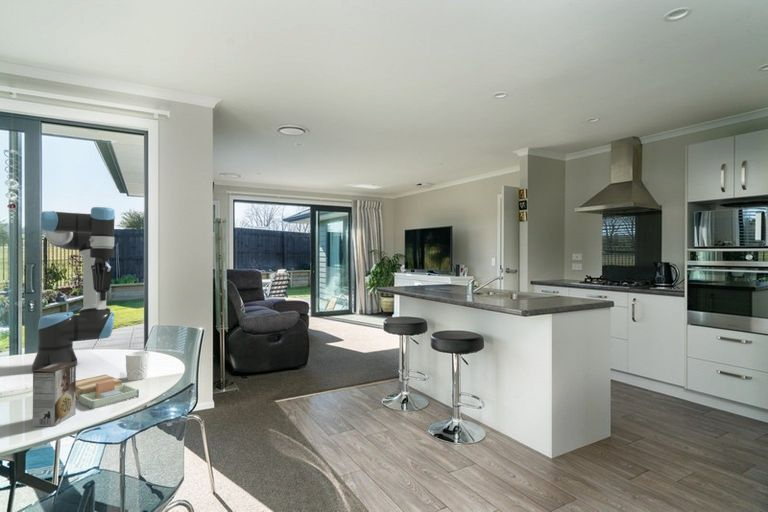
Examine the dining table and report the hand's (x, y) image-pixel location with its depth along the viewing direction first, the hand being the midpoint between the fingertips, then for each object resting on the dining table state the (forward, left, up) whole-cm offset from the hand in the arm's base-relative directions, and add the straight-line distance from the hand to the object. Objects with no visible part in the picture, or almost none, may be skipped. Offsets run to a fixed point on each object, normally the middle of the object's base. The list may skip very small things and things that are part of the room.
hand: (101, 309), depth 155 cm
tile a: (+18, -6, -25) cm, 32 cm away
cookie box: (+28, -23, -29) cm, 46 cm away
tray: (+22, -6, -28) cm, 37 cm away
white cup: (+5, +11, -29) cm, 31 cm away
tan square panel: (+11, -6, -28) cm, 31 cm away
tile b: (+24, -6, -26) cm, 36 cm away
